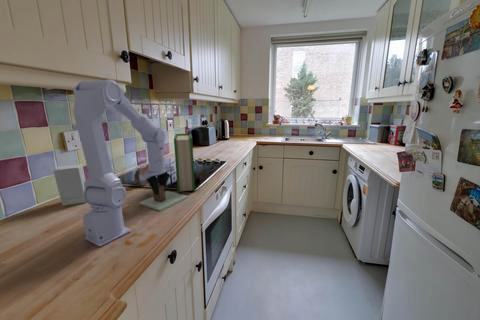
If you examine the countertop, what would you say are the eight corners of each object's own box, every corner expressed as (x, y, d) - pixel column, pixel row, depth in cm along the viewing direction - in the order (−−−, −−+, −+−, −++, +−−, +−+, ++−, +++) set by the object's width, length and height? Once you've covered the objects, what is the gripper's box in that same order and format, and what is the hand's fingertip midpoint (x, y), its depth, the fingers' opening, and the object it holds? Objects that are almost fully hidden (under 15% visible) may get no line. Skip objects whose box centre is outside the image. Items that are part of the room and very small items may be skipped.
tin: (140, 188, 107) (138, 170, 105) (134, 187, 108) (132, 170, 106) (157, 178, 121) (156, 163, 120) (152, 178, 122) (150, 162, 120)
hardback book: (195, 191, 102) (192, 138, 96) (177, 193, 100) (173, 138, 94) (193, 179, 118) (191, 133, 113) (179, 181, 117) (175, 134, 111)
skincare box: (89, 197, 96) (83, 163, 93) (85, 203, 90) (79, 167, 87) (65, 200, 93) (59, 165, 90) (60, 206, 88) (52, 169, 84)
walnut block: (160, 202, 88) (158, 187, 87) (153, 200, 90) (152, 185, 89) (165, 199, 90) (164, 185, 89) (159, 198, 93) (157, 184, 91)
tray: (160, 210, 83) (160, 208, 83) (139, 203, 89) (139, 201, 89) (187, 197, 95) (187, 195, 95) (167, 192, 101) (167, 190, 101)
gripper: (164, 154, 94) (167, 185, 98) (132, 161, 82) (136, 197, 86) (176, 156, 91) (178, 188, 94) (144, 164, 79) (148, 201, 82)
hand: (159, 192), depth 90 cm, fingers closed on walnut block, 2 cm apart
